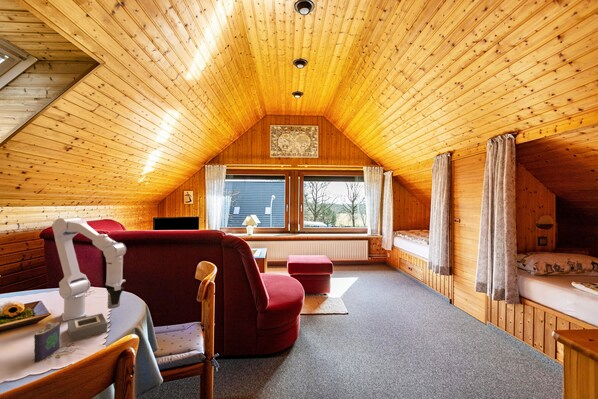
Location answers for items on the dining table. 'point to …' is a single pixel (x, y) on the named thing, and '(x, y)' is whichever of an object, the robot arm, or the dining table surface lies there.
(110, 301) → the lens
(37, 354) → the flask
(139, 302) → the dining table surface
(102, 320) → the grey frame block
